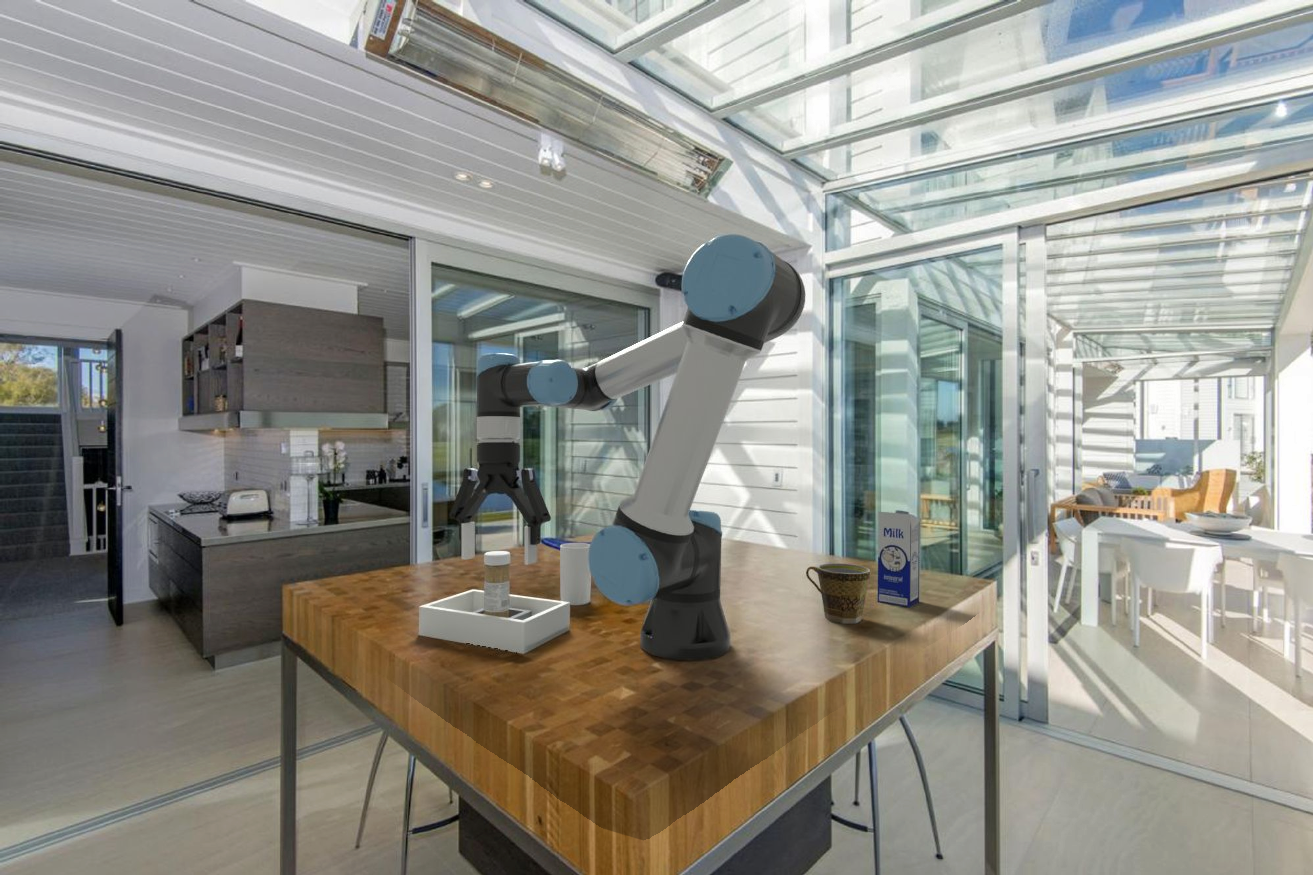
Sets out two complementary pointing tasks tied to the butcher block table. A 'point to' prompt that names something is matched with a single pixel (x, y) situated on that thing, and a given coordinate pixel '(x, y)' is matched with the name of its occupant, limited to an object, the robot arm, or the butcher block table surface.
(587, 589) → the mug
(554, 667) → the butcher block table surface
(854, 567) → the ceramic cup
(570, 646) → the butcher block table surface
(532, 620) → the tray
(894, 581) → the milk carton
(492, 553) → the sprinkles bottle
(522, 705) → the butcher block table surface
